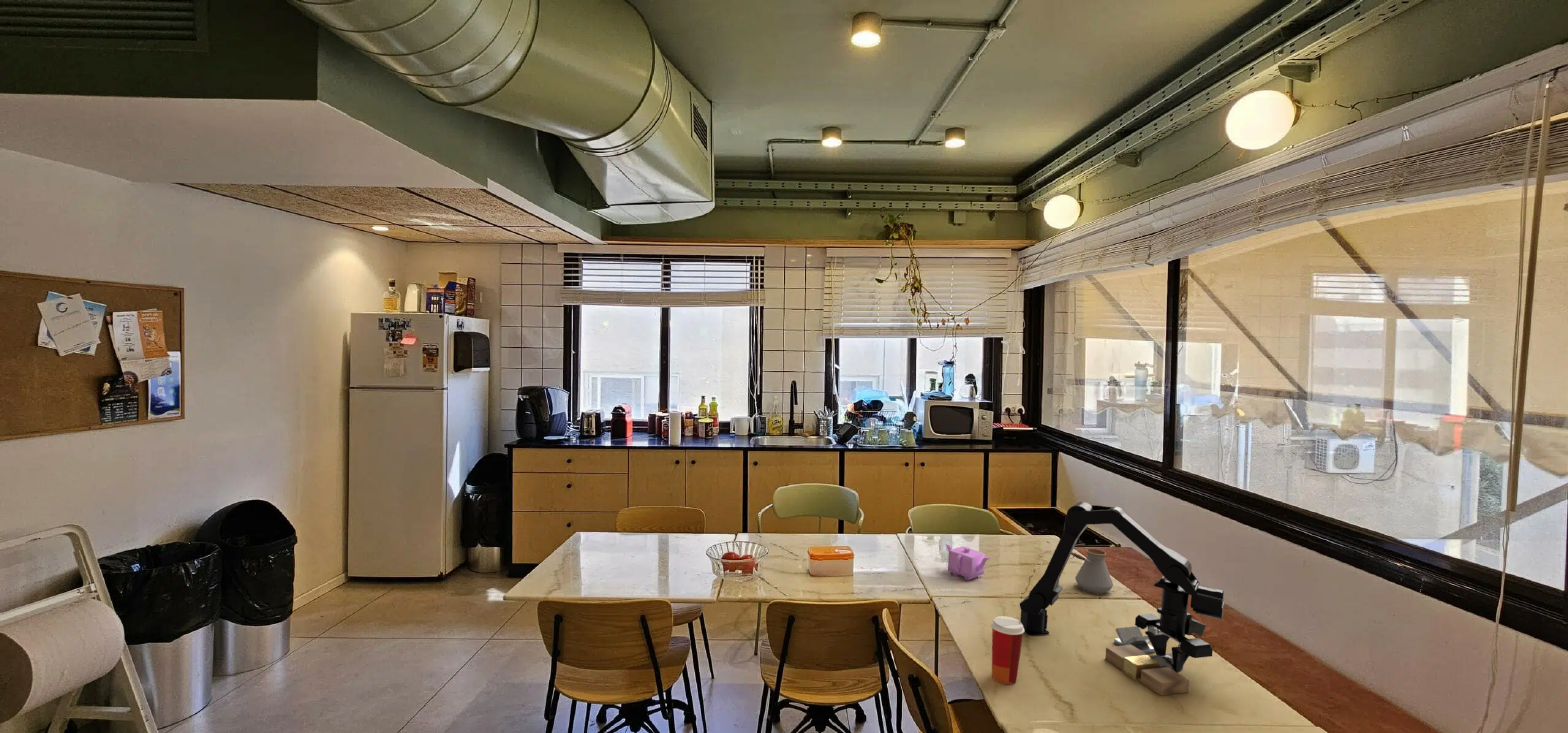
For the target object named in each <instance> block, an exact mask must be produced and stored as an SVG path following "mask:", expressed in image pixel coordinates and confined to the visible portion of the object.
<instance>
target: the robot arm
mask: <svg viewBox="0 0 1568 733" xmlns="http://www.w3.org/2000/svg"><path fill="white" fill-rule="evenodd" d="M1064 519H1065V520H1064V525H1063V531H1062V534H1061V537H1060V539H1059V541H1058V543H1057V545H1056V547H1055V550H1054V552H1053V554H1052V556H1051V558H1050V561H1049V563H1048V564H1047V567H1046V569H1045V571H1044V574H1043V575H1042V576H1041V577H1040V579H1039V580H1038V581H1037V583H1035V585H1034V586H1033V587H1032V589H1031V590H1030V592H1029V593H1028V595H1027V596H1026V597H1025V598H1024V599H1023V600H1021V601H1020V603H1019V607H1020V620H1019V621H1020V622H1021V623H1022V625H1023V628H1024V630H1025V631H1024V633H1025V634H1026V635H1028V636H1030V637H1031V636H1042V635H1050V631H1048V630H1047V629H1048V617H1049V616H1048V614H1047V613H1048V610H1047V608H1048V607H1050V606H1051V607H1052V606H1053V605H1054V604H1055V602H1057V601H1058V600H1059V595H1060V593H1061V591H1062V590H1063V588H1064V586H1061V585H1059V583H1060V578H1061V576H1062V574H1063V572H1064V569H1065V568H1066V565H1067V563H1068V561H1069V559H1070V558H1071V557H1070V556H1072V555H1071V553H1072V552H1073V550H1074V549H1075V546H1076V545H1077V542H1078V541H1079V538H1080V536H1081V535H1082V533H1083V532H1084V531H1085V530H1086V529H1087V527H1089V525H1107V524H1108V525H1113V526H1114V527H1115V528H1116V529H1117V531H1119V532H1120V533H1121V534H1123V535H1124V536H1125V537H1126V538H1128V540H1130V541H1131V542H1132V543H1133V544H1134V545H1135V546H1136V547H1137V548H1138V549H1140V550H1141V551H1142V552H1143V553H1145V555H1147V556H1148V557H1149V558H1150V560H1151V561H1152V563H1153V564H1154V565H1155V566H1156V569H1157V570H1158V571H1159V572H1160V573H1161V575H1163V576H1161V577H1160V579H1157V580H1155V582H1154V584H1153V586H1154V587H1155V588H1160V589H1162V592H1161V593H1162V595H1161V605H1160V607H1157V608H1156V613H1158V614H1160V616H1157V615H1156V614H1153V613H1143V614H1138V615H1137V616H1136V617H1135V622H1134V626H1137V627H1139V629H1140V630H1145V629H1147V630H1146V631H1144V633H1145V636H1148V638H1149V640H1150V643H1151V646H1152V647H1153V648H1154V650H1155V652H1154V653H1155V655H1162V654H1167V645H1168V641H1169V639H1171V640H1173V641H1175V642H1177V643H1178V645H1177V646H1173V647H1171V653H1172V656H1173V665H1174V670H1175V672H1177V673H1179V674H1180V673H1181V672H1180V670H1181V669H1182V667H1183V668H1184V665H1185V664H1186V662H1187V660H1188V659H1189V657H1190V658H1193V659H1201V658H1208V657H1209V658H1211V657H1213V650H1214V648H1213V646H1212V645H1211V644H1210V643H1209V642H1206V641H1204V640H1203V639H1201V638H1202V637H1203V636H1204V633H1205V630H1206V627H1207V625H1206V624H1205V623H1202V622H1200V621H1199V620H1196V619H1194V618H1193V616H1192V614H1191V613H1189V612H1188V610H1189V609H1188V608H1189V607H1188V606H1189V596H1190V608H1191V609H1192V611H1193V612H1194V614H1196V615H1197V614H1198V615H1201V616H1206V617H1210V618H1212V619H1217V620H1221V621H1222V620H1223V618H1224V612H1225V611H1224V609H1225V601H1224V600H1225V599H1224V598H1225V596H1224V593H1225V592H1224V590H1223V589H1216V588H1209V587H1205V586H1202V585H1200V581H1199V580H1198V579H1197V577H1196V576H1195V574H1194V573H1193V567H1192V563H1191V561H1189V559H1187V558H1186V557H1184V556H1183V555H1181V554H1180V553H1178V552H1176V551H1175V550H1173V549H1171V548H1169V547H1166V546H1164V545H1163V544H1162V543H1160V542H1159V541H1158V540H1157V539H1156V538H1154V536H1152V534H1150V533H1149V532H1148V531H1146V530H1145V529H1144V528H1143V527H1142V526H1140V525H1139V524H1138V523H1137V522H1136V521H1135V520H1133V519H1132V518H1131V517H1130V516H1129V515H1128V514H1127V513H1125V511H1124V510H1123V508H1121V507H1119V506H1104V505H1099V504H1097V505H1095V504H1090V503H1088V502H1087V501H1086V502H1085V501H1080V502H1076V503H1075V504H1074V505H1072V506H1071V507H1070V508H1068V510H1067V511H1066V515H1065V518H1064ZM1193 634H1194V635H1197V636H1199V637H1201V638H1199V637H1196V638H1195V637H1194V638H1193V637H1192V638H1188V637H1186V636H1193Z"/></svg>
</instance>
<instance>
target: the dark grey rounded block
mask: <svg viewBox="0 0 1568 733" xmlns="http://www.w3.org/2000/svg"><path fill="white" fill-rule="evenodd" d="M1149 656H1150V657H1152V658H1153V659H1155V660H1157V661H1158V662H1160V668H1163V667H1169V668H1170V669H1172V670H1174V665H1173V656H1172V652H1171V653H1166V654H1162V655H1156V654H1153V655H1149ZM1183 670H1184V666H1183V667H1182V669H1181V670H1180V672H1179V673H1181V672H1182V671H1183ZM1174 671H1175V670H1174Z"/></svg>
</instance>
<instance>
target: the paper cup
mask: <svg viewBox="0 0 1568 733" xmlns="http://www.w3.org/2000/svg"><path fill="white" fill-rule="evenodd" d="M990 628H991V630H992V632H991V634H992V636H991V638H992V639H991V675H992V676H991V677H992V679H993V680H994V681H996V682H998V683H1000V684H1002V685H1014V684H1015V683H1016V682H1017V679H1018V671H1019V664H1020V660H1021V659H1020V658H1021V650H1022V643H1023V636H1024V635H1023V634H1024V633H1025V632H1024V631H1025V630H1024V628H1023V625H1022V623H1021V622H1020V620H1019V619H1016V618H1015V617H1011V616H1006V615H1004V616H1002V615H1001V616H996V617H994V619H993V620H992V622H991V623H990Z"/></svg>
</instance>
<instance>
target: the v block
mask: <svg viewBox="0 0 1568 733" xmlns="http://www.w3.org/2000/svg"><path fill="white" fill-rule="evenodd" d="M1115 632H1116V634H1117V637H1118V638H1114V640H1113V642H1114V643H1115V644H1117V646H1124V645H1133V646H1134V647H1136V648H1138V649H1139V650H1141V651H1142V652H1144V653H1146V654H1149V653H1151V654H1152V653H1155V650H1154V648H1153V646H1152V645H1150V643H1151V642H1150V640H1149V638H1148V636H1147V635H1143V634H1142V631H1141V628H1139V627H1137V626H1136V625H1134V626H1126V627H1116V628H1115Z"/></svg>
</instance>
